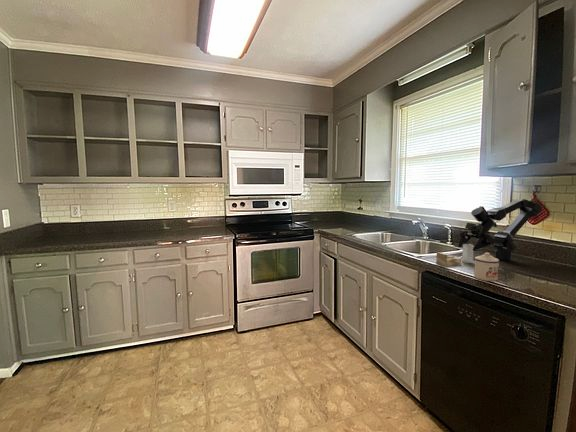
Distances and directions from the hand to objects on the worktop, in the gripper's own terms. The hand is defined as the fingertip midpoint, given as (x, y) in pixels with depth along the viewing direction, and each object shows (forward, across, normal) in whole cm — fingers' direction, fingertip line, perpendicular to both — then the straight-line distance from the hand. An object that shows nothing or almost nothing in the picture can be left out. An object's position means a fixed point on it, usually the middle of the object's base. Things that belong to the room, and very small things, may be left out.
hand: (465, 248), depth 152 cm
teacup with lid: (+14, +24, -3) cm, 28 cm away
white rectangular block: (+4, 0, +7) cm, 8 cm away
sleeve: (+13, 0, -2) cm, 13 cm away
